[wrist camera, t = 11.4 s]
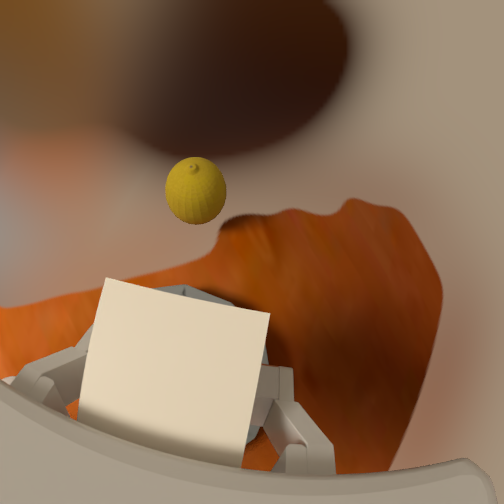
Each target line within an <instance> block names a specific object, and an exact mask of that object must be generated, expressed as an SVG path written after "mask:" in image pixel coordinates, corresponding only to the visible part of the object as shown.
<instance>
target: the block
mask: <svg viewBox="0 0 504 504" xmlns="http://www.w3.org/2000/svg"><path fill="white" fill-rule="evenodd" d="M269 317H270V313H265V312H259V311H254V310H249V309H243V308H238V307H233V306H228V305H223V304H218V303H213V302H208V301H204V300H199V299H194V298H190V297H185V296H181V295H176V294H172V293H167V292H163V291H159V290H155V289H150V288H146V287H142V286H138V285H134V284H130V283H126V282H122V281H118V280H114V279H110V278H106V280H105V283H104V287H103V290H102V294H101V297H100V301H99V305H98V309H97V313H96V317H95V321H94V325H93V330H92V334H91V339H90V343H89V348H88V353H87V358H86V363H85V369H84V374H83V380H82V386H81V393H80V400H79V407H78V415H77V421H78V422H80V423H83V424H85V425H87V426H90V427H92V428H94V429H97V430H99V431H102V432H104V433H107V434H109V435H112V436H115V437H118V438H120V439H123V440H126V441H129V442H132V443H135V444H138V445H141V446H144V447H147V448H151V449H154V450H158V451H161V452H165V453H168V454H172V455H176V456H180V457H184V458H188V459H193V460H197V461H202V462H207V463H212V464H217V465H223V466H229V467H235V468H241V463H242V459H243V454H244V449H245V444H246V440H247V435H248V430H249V425H250V420H251V415H252V410H253V404H254V399H255V394H256V389H257V384H258V378H259V373H260V368H261V362H262V357H263V351H264V346H265V340H266V334H267V329H268V323H269Z"/></svg>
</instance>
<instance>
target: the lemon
mask: <svg viewBox="0 0 504 504" xmlns="http://www.w3.org/2000/svg"><path fill="white" fill-rule="evenodd" d="M165 190H166V200H167V202H168V205H169V207H170V209H171V211H172V212H173V213H174V214H175V216H176V217H177V218H179V219H180V220H182V221H183V222H186V223H189V224H195V225H197V224H204V223H207V222H209V221H210V220H212V219H214V218H215V217H216V216H217V215H218V214H219V213H220V211H221V209H222V208H223V206H224V203H225V199H226V184H225V181H224V178H223V175H222V173H221V172H220V171H219V169H218V168H217V166H216V165H215V164H213V163H212V162H211V161H209V160H207V159H204V158H200V157H192V158H187V159H185V160H182V161H180V162H179V163H177V164H176V165H175V166H174V167H173V168H172V170H171V171H170V173H169V175H168V177H167V182H166V187H165Z"/></svg>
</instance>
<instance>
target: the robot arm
mask: <svg viewBox="0 0 504 504" xmlns="http://www.w3.org/2000/svg"><path fill="white" fill-rule="evenodd" d="M93 325H94V324H92V326H91V327H90V328H89V329H88V331H87V332H86V333H85V335H84V336H83V337H82V338H81V340H80V341H79V342H78V344H77V345H76V346H75V348H74V347H69V348H67V349H64V350H62V351H59V352H57V353H54V354H52V355H49V356H47V357H44V358H42V359H39V360H37V361H34V362H32V363H29V364H26V365H25V366H24V367H23V369H22V370H21V371H20V372H19V374H18V375H17V376H16V378H15V379H14V380H13V381H12V383H11V384H10V385H9V384H7V383H6V382H4V381H3V380H1V379H0V504H498V502H497V498H496V494H495V489H494V486H493V483H492V481H491V478H490V477H489V475H488V474H487V473H485V471H483V470H482V469H481V468H480V467H479V466H477V465H476V464H475V463H474V462H472V461H471V460H469V459H467V458H460V459H456V460H451V461H447V462H442V463H437V464H432V465H427V466H421V467H416V468H409V469H402V470H394V471H385V472H374V473H359V474H336V469H335V458H334V447H333V444H332V443H331V442H330V441H329V440H328V438H327V437H326V436H325V435H324V434H323V432H322V431H321V430H320V429H319V427H318V426H317V425H316V424H315V423H314V421H313V420H312V419H311V418H310V416H309V415H308V414H307V413H306V411H305V410H304V409H303V408H302V406H301V405H300V404H299V403H298V402H294V380H293V369H292V368H290V367H282V366H275V365H268V364H262V363H261V368H260V373H259V378H258V384H257V389H256V394H255V399H254V404H253V410H252V415H251V420H250V425H256V426H262V427H263V429H264V430H265V432H266V434H267V436H268V438H269V439H270V441H271V443H272V445H273V446H274V448H275V450H276V452H277V453H278V455H279V457H280V458H279V459H278V461H277V462H276V464H275V465H274V467H273V469H272V470H271V472H267V471H258V470H249V469H242V468H235V467H229V466H223V465H217V464H212V463H207V462H202V461H197V460H193V459H188V458H184V457H180V456H176V455H172V454H168V453H165V452H161V451H158V450H154V449H151V448H147V447H144V446H141V445H138V444H135V443H132V442H129V441H126V440H123V439H120V438H118V437H115V436H112V435H109V434H107V433H104V432H102V431H99V430H97V429H94V428H92V427H90V426H87V425H85V424H83V423H80V422H78V421H76V420H74V419H71V418H70V415H69V414H68V412H67V410H66V407H65V406H67V405H69V404H70V403H72V402H74V401H75V400H77V399H78V398H80V393H81V386H82V380H83V374H84V369H85V363H86V358H87V353H88V348H89V343H90V339H91V334H92V330H93Z"/></svg>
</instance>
